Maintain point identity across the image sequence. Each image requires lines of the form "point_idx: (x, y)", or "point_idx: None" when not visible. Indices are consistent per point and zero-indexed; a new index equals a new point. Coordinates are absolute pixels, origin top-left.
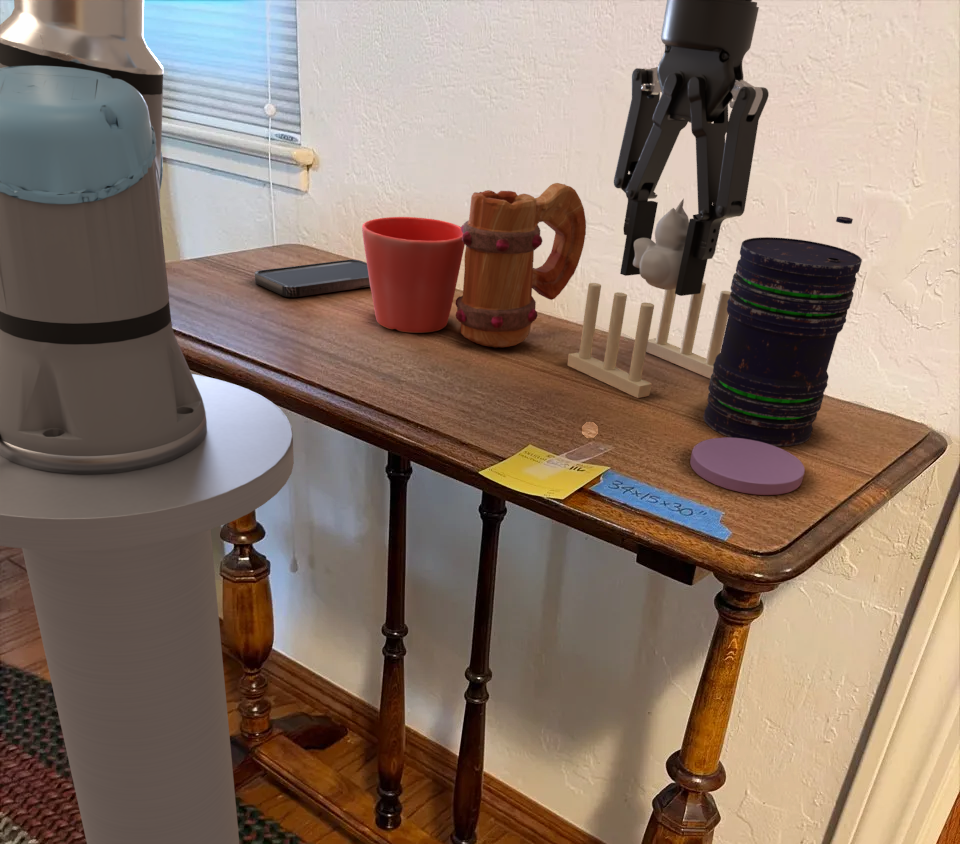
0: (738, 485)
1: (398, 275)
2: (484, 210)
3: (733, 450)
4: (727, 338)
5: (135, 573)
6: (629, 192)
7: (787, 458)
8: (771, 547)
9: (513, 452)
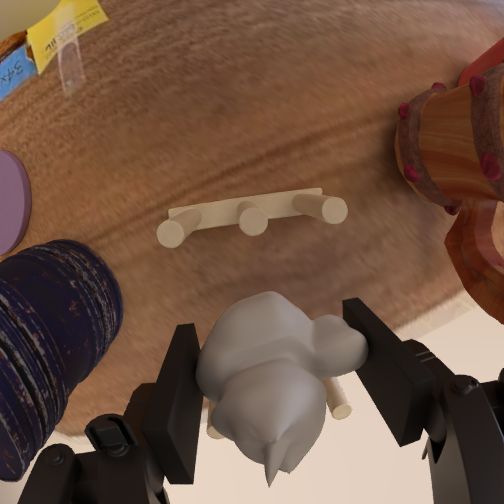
0: None
1: (496, 43)
2: None
3: (2, 202)
4: (23, 274)
5: None
6: (463, 383)
7: None
8: None
9: (102, 2)
